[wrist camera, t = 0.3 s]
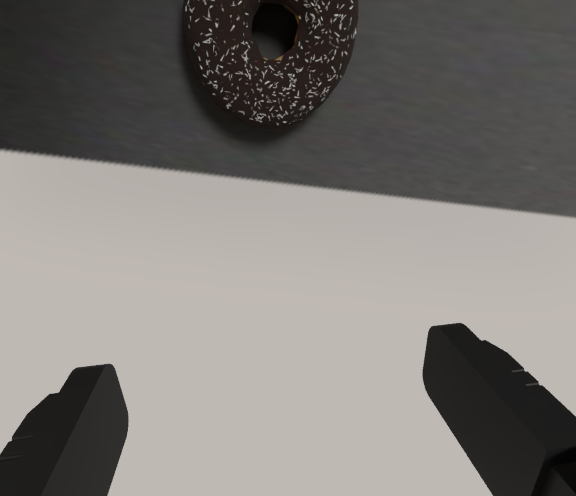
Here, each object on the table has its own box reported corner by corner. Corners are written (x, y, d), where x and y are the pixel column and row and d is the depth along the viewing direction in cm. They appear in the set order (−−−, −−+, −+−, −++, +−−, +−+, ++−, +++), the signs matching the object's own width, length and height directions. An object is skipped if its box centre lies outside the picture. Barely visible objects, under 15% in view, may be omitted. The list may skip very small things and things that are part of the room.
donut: (367, -50, 23) (391, -66, 19) (323, 134, 28) (334, 147, 25) (192, -104, 20) (183, -134, 17) (181, 108, 26) (173, 117, 23)
